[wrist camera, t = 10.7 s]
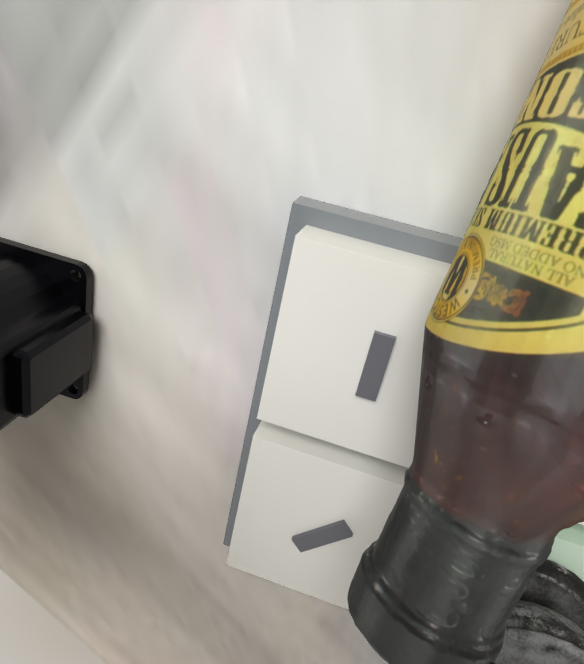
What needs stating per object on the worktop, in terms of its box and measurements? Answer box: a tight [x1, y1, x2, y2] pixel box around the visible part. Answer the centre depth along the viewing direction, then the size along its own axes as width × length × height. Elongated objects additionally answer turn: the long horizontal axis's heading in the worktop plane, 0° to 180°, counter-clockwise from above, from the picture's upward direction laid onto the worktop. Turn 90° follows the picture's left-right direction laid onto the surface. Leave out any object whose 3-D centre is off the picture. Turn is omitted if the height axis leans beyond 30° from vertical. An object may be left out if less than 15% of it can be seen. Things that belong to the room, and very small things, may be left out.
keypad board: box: [223, 196, 584, 610], centre depth 20 cm, size 16×16×3 cm
